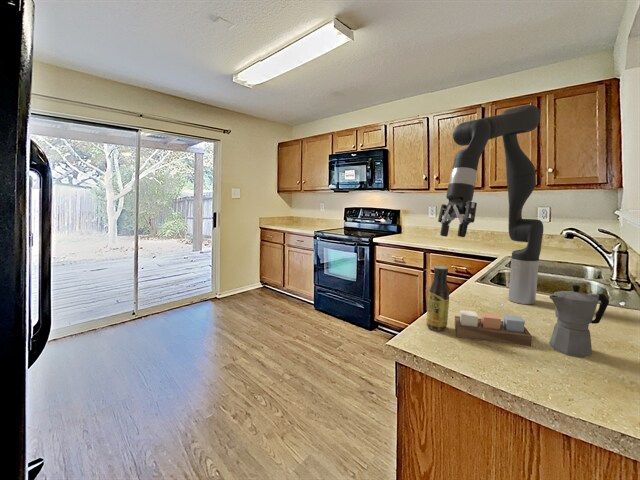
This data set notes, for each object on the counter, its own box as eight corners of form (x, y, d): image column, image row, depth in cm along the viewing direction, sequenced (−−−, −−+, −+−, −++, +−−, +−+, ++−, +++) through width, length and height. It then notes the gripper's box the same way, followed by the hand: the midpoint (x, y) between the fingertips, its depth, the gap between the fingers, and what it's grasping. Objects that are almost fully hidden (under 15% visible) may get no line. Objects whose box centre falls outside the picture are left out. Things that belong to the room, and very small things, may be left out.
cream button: (459, 322, 100) (460, 310, 99) (475, 324, 98) (476, 311, 98) (461, 327, 95) (461, 314, 95) (477, 329, 94) (478, 316, 94)
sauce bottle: (422, 325, 102) (424, 265, 100) (437, 323, 104) (440, 264, 102) (436, 333, 96) (439, 269, 93) (452, 330, 98) (455, 268, 96)
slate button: (502, 327, 96) (503, 314, 95) (519, 329, 94) (520, 316, 94) (506, 333, 92) (507, 319, 91) (523, 335, 90) (524, 321, 90)
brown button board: (454, 324, 103) (454, 315, 103) (521, 332, 97) (522, 323, 96) (456, 337, 94) (457, 327, 93) (531, 346, 87) (532, 336, 87)
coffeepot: (558, 357, 81) (564, 289, 79) (533, 341, 91) (539, 280, 88) (618, 358, 81) (626, 290, 79) (588, 342, 90) (594, 280, 88)
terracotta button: (480, 324, 98) (481, 312, 97) (496, 326, 96) (497, 314, 96) (483, 330, 94) (484, 317, 93) (499, 332, 92) (500, 319, 92)
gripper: (488, 184, 91) (478, 239, 91) (457, 190, 105) (448, 238, 105) (466, 178, 89) (456, 234, 89) (437, 185, 103) (428, 233, 103)
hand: (451, 236), depth 97 cm, fingers open, 8 cm apart
